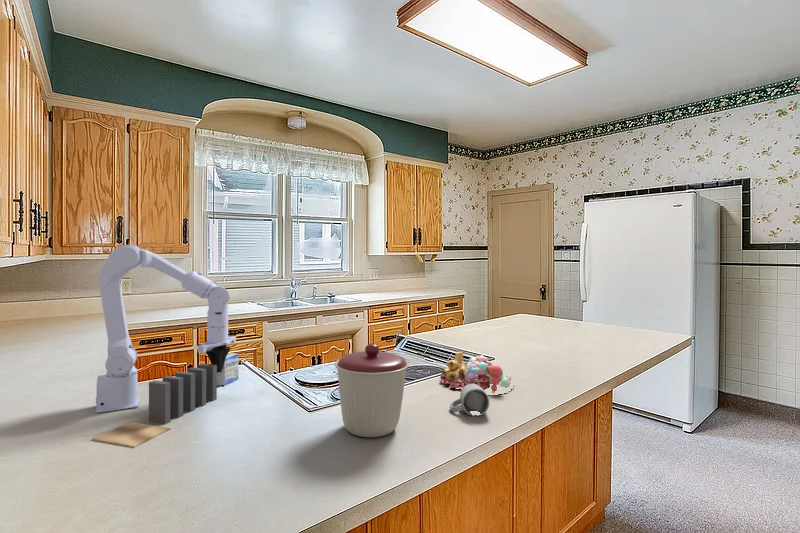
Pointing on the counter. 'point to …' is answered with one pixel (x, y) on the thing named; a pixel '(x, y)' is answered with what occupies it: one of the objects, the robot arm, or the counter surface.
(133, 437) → the cork pad
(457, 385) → the candy landscape model
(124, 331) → the robot arm
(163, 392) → the domino
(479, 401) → the ceramic mug
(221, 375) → the medicine box
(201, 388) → the domino
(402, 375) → the canister
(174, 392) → the domino
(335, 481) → the counter surface
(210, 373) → the domino
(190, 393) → the domino
